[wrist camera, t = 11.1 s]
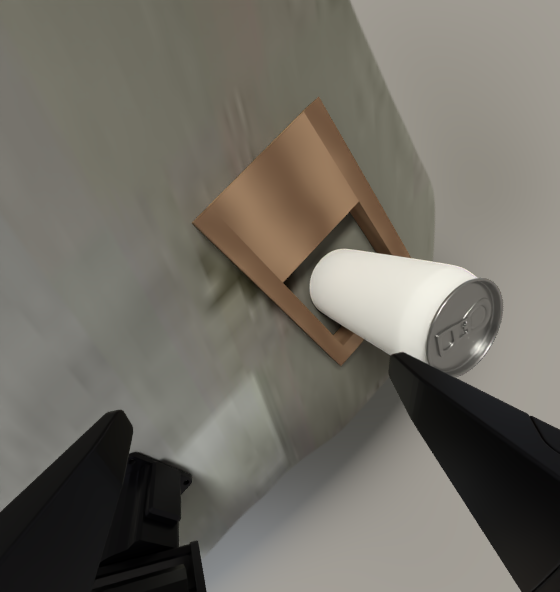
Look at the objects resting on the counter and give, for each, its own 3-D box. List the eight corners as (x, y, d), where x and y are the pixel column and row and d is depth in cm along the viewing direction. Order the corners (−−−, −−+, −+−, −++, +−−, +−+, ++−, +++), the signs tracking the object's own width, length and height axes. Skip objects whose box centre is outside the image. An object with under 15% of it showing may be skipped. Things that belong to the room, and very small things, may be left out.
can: (372, 293, 26) (510, 344, 15) (320, 326, 25) (432, 407, 14) (354, 235, 23) (507, 246, 13) (296, 268, 22) (410, 312, 11)
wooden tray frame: (329, 356, 26) (340, 365, 24) (191, 222, 18) (193, 222, 16) (404, 271, 27) (421, 275, 25) (305, 108, 19) (318, 96, 17)
